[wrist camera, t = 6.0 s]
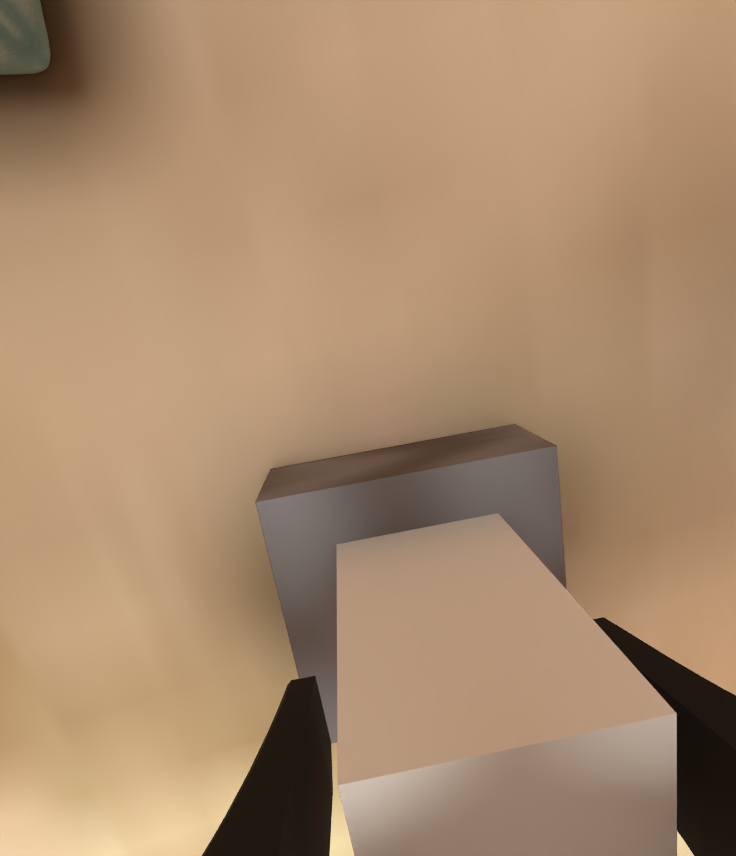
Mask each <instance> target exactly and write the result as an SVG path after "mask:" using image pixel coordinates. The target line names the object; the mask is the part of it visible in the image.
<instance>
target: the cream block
mask: <svg viewBox="0 0 736 856" xmlns="http://www.w3.org/2000/svg"><path fill="white" fill-rule="evenodd" d="M336 548H337V740H338V789H339V793H340V797H341V801H342V805H343V809H344V813H345V818H346V822H347V826H348V830H349V834H350V838H351V842H352V846H353V850H354V855H355V856H677V713H676V712H675V711H674V710H673V709H672V708H671V707H670V705H669V704H668V703H667V702H666V701H665V700H664V699H663V698H662V696H661V695H660V694H659V693H658V692H657V691H656V690H655V689H654V687H653V686H652V685H651V684H650V683H649V682H648V681H647V680H646V678H645V677H644V676H643V675H642V674H641V673H640V672H639V671H638V670H637V668H636V667H635V666H634V665H633V664H632V663H631V662H630V661H629V659H628V658H627V657H626V656H625V655H624V654H623V653H622V652H621V650H620V649H619V648H618V647H617V646H616V645H615V644H614V643H613V641H612V640H611V639H610V638H609V637H608V636H607V635H606V634H605V632H604V631H603V630H602V629H601V628H600V627H599V626H598V625H597V623H596V622H595V621H594V620H593V619H592V618H591V617H590V616H589V614H588V613H587V612H586V611H585V610H584V609H583V608H582V607H581V606H580V604H579V603H578V602H577V601H576V600H575V599H574V598H573V597H572V595H571V594H570V593H569V592H568V591H567V590H566V589H565V588H564V586H563V585H562V584H561V583H560V582H559V581H558V580H557V579H556V577H555V576H554V575H553V574H552V573H551V572H550V571H549V570H548V568H547V567H546V566H545V565H544V564H543V563H542V562H541V561H540V559H539V558H538V557H537V556H536V555H535V554H534V553H533V552H532V550H531V549H530V548H529V547H528V546H527V545H526V544H525V543H524V542H523V540H522V539H521V538H520V537H519V536H518V535H517V534H516V533H515V531H514V530H513V529H512V528H511V527H510V526H509V525H508V524H507V522H506V521H505V520H504V519H503V518H502V517H501V516H500V515H499V513H496V514H491V515H486V516H481V517H475V518H470V519H465V520H460V521H455V522H450V523H444V524H439V525H434V526H429V527H424V528H419V529H413V530H408V531H403V532H398V533H393V534H388V535H382V536H377V537H372V538H367V539H362V540H357V541H351V542H346V543H341V544H336Z"/></svg>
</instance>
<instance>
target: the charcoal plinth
mask: <svg viewBox="0 0 736 856" xmlns="http://www.w3.org/2000/svg"><path fill="white" fill-rule="evenodd" d="M255 503H256V507H257V511H258V515H259V519H260V523H261V527H262V531H263V535H264V539H265V543H266V547H267V551H268V555H269V559H270V563H271V567H272V571H273V575H274V579H275V583H276V587H277V591H278V595H279V599H280V603H281V607H282V611H283V615H284V619H285V623H286V628H287V632H288V636H289V640H290V644H291V648H292V652H293V656H294V660H295V664H296V668H297V672H298V676H299V679H301V678H306V677H311V676H316V680H317V685H318V689H319V693H320V697H321V701H322V706H323V710H324V714H325V718H326V723H327V727H328V731H329V735H330V739H331V743H335V742H338V740H337V548H336V544H341V543H346V542H351V541H357V540H362V539H367V538H372V537H377V536H382V535H388V534H393V533H398V532H403V531H408V530H413V529H419V528H424V527H429V526H434V525H439V524H444V523H450V522H455V521H460V520H465V519H470V518H475V517H481V516H486V515H491V514H496V513H499V515H500V516H501V517H502V518H503V519H504V520H505V521H506V522H507V524H508V525H509V526H510V527H511V528H512V529H513V530H514V531H515V533H516V534H517V535H518V536H519V537H520V538H521V539H522V540H523V542H524V543H525V544H526V545H527V546H528V547H529V548H530V549H531V550H532V552H533V553H534V554H535V555H536V556H537V557H538V558H539V559H540V561H541V562H542V563H543V564H544V565H545V566H546V567H547V568H548V570H549V571H550V572H551V573H552V574H553V575H554V576H555V577H556V579H557V580H558V581H559V582H560V583H561V584H562V585H563V586H564V588H565V589H566V578H565V563H564V548H563V534H562V519H561V504H560V490H559V475H558V460H557V446H556V445H554V444H552V443H550V442H548V441H546V440H544V439H542V438H540V437H539V436H537V435H535V434H533V433H531V432H529V431H527V430H525V429H523V428H521V427H519V426H518V425H516V424H514V425H508V426H503V427H497V428H492V429H487V430H481V431H476V432H470V433H465V434H460V435H454V436H449V437H443V438H438V439H432V440H427V441H422V442H416V443H411V444H405V445H400V446H395V447H389V448H384V449H378V450H373V451H367V452H362V453H357V454H351V455H346V456H340V457H335V458H330V459H324V460H319V461H313V462H308V463H302V464H297V465H292V466H286V467H281V468H275V469H271V470H270V472H269V474H268V476H267V478H266V480H265V483H264V485H263V487H262V489H261V491H260V493H259V495H258V498H257V500H256V502H255Z"/></svg>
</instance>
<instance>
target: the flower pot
mask: <svg viewBox="0 0 736 856" xmlns="http://www.w3.org/2000/svg"><path fill="white" fill-rule="evenodd" d="M49 63H50V46H49V40H48V35H47V30H46V26H45V21H44V17H43V12H42V8H41V3H40V0H0V75H12V74H32V73H39V72H41V71H44V70H45V69H46V68H47V67H48V66H49Z"/></svg>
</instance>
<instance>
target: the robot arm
mask: <svg viewBox="0 0 736 856" xmlns="http://www.w3.org/2000/svg"><path fill="white" fill-rule="evenodd" d="M593 620H594V621H595V622H596V623H597V625H598V626H599V627H600V628H601V629H602V630H603V631H604V632H605V634H606V635H607V636H608V637H609V638H610V639H611V640H612V641H613V643H614V644H615V645H616V646H617V647H618V648H619V649H620V650H621V652H622V653H623V654H624V655H625V656H626V657H627V658H628V659H629V661H630V662H631V663H632V664H633V665H634V666H635V667H636V668H637V670H638V671H639V672H640V673H641V674H642V675H643V676H644V677H645V678H646V680H647V681H648V682H649V683H650V684H651V685H652V686H653V687H654V689H655V690H656V691H657V692H658V693H659V694H660V695H661V696H662V698H663V699H664V700H665V701H666V702H667V703H668V704H669V705H670V707H671V708H672V709H673V710H674V711H675V712H676V713H677V831H678V832H679V834H680V835H681V837H682V838H683V839H684V841H685V842H686V844H687V845H688V847H689V848H690V850H691V851H692V853H693V854H694V856H736V696H735V695H734V694H732V693H730V692H728V691H726V690H724V689H722V688H721V687H719V686H717V685H715V684H714V683H712V682H710V681H708V680H706V679H705V678H703V677H701V676H700V675H698V674H696V673H694V672H693V671H691V670H689V669H688V668H686V667H684V666H682V665H681V664H679V663H677V662H676V661H674V660H672V659H671V658H669V657H667V656H666V655H664V654H662V653H661V652H659V651H658V650H656V649H654V648H653V647H651V646H649V645H648V644H646V643H645V642H643V641H641V640H640V639H638V638H636V637H635V636H633V635H632V634H630V633H628V632H627V631H625V630H624V629H622V628H620V627H619V626H617V625H615V624H614V623H612V622H610V621H609V620H607V619H605V618H604V617H603V618H598V619H593ZM332 795H333V785H332V756H331V739H330V735H329V731H328V727H327V723H326V718H325V714H324V710H323V706H322V701H321V697H320V693H319V689H318V685H317V680H316V676H311V677H306V678H301V679H296V680H291V681H290V683H289V684H288V685H287V688H286V691H285V693H284V696H283V698H282V701H281V703H280V705H279V708H278V710H277V713H276V715H275V717H274V720H273V722H272V724H271V726H270V728H269V731H268V733H267V735H266V737H265V739H264V742H263V744H262V746H261V748H260V750H259V752H258V754H257V756H256V758H255V760H254V762H253V764H252V767H251V769H250V771H249V773H248V775H247V776H246V778H245V780H244V782H243V784H242V786H241V788H240V790H239V791H238V793H237V795H236V797H235V799H234V801H233V803H232V805H231V806H230V808H229V810H228V812H227V814H226V816H225V817H224V819H223V821H222V823H221V824H220V826H219V828H218V830H217V831H216V833H215V835H214V837H213V838H212V840H211V842H210V843H209V845H208V847H207V848H206V850H205V851H204V853H203V855H202V856H329V851H330V833H331V815H332Z"/></svg>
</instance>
